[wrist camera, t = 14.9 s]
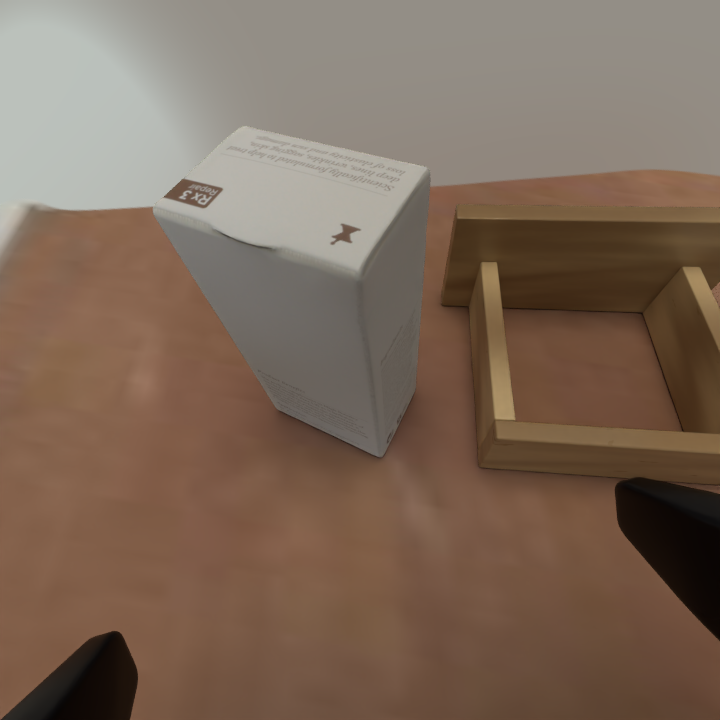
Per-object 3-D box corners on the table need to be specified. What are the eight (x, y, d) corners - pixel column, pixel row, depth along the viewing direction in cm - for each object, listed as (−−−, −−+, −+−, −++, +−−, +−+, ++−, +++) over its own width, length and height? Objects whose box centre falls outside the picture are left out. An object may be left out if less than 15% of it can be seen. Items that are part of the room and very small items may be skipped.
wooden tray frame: (760, 488, 17) (921, 434, 12) (444, 465, 18) (466, 407, 13) (681, 300, 22) (768, 207, 17) (441, 292, 24) (456, 203, 18)
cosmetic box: (418, 387, 20) (450, 155, 10) (380, 467, 18) (371, 279, 8) (312, 345, 22) (247, 110, 12) (266, 413, 20) (140, 203, 10)
